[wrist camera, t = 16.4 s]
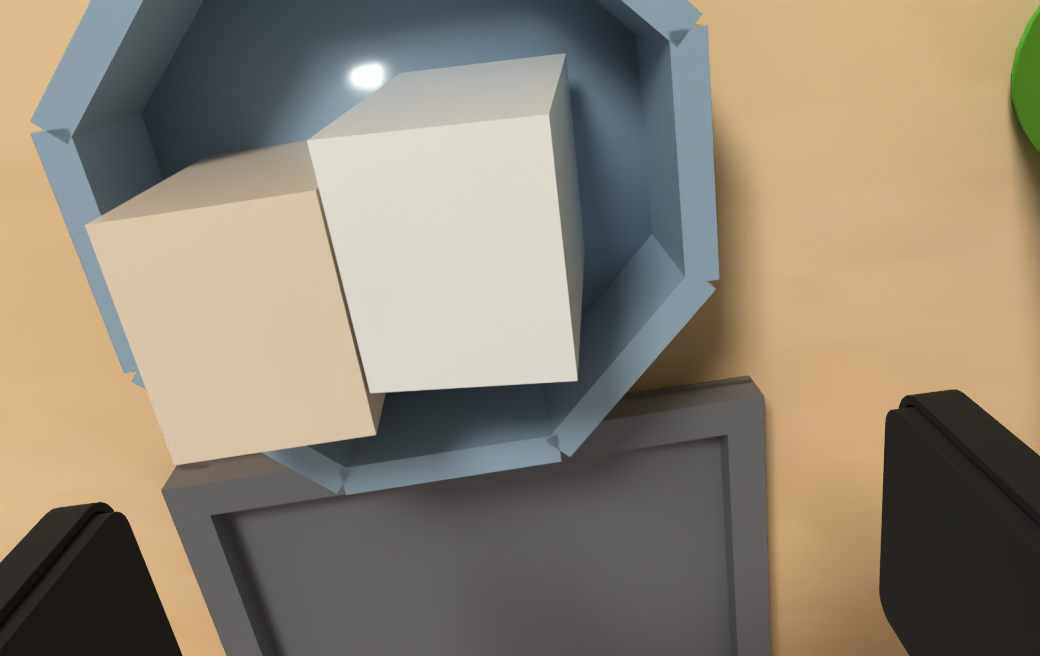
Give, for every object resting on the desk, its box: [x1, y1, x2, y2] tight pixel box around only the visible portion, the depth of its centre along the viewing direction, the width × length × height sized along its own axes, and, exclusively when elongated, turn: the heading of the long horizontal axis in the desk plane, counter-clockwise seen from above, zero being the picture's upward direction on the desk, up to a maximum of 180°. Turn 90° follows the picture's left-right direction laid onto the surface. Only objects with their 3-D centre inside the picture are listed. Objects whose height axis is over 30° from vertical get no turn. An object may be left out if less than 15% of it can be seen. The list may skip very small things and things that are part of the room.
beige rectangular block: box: [85, 140, 386, 465], centre depth 15 cm, size 4×4×6 cm
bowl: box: [30, 0, 719, 495], centre depth 17 cm, size 12×12×4 cm
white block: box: [307, 53, 585, 393], centre depth 15 cm, size 4×4×6 cm
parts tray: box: [161, 376, 770, 656], centre depth 23 cm, size 16×14×1 cm
